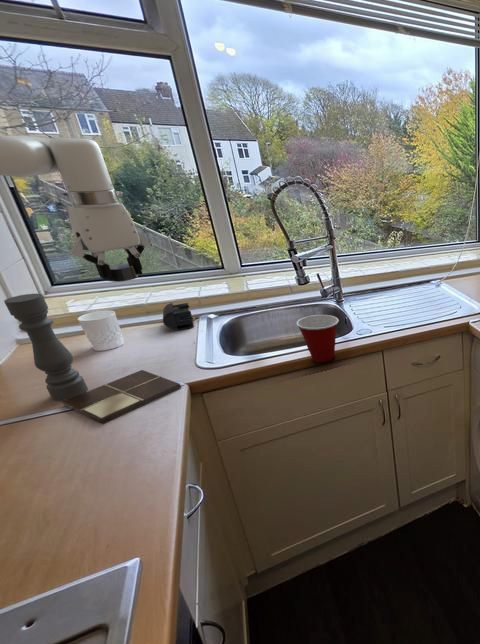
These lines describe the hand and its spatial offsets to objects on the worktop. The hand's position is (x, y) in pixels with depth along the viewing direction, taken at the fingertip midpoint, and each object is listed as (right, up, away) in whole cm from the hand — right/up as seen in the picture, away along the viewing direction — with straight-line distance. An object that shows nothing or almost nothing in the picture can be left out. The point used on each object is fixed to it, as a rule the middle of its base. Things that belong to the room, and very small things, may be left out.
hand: (123, 276), depth 97 cm
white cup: (-28, -19, +25) cm, 41 cm away
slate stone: (0, -1, 0) cm, 1 cm away
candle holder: (-15, -29, +2) cm, 32 cm away
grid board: (-1, -29, +1) cm, 29 cm away
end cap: (-18, -13, +39) cm, 45 cm away
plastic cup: (+39, -22, +21) cm, 49 cm away
